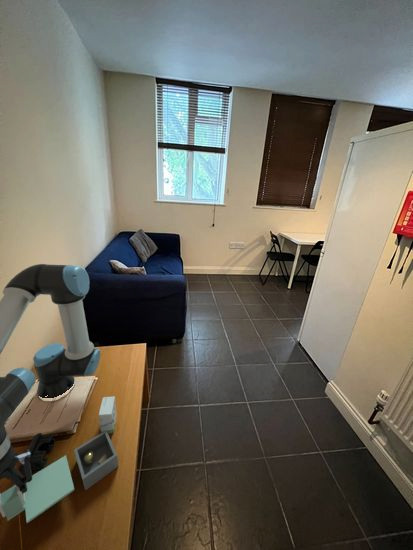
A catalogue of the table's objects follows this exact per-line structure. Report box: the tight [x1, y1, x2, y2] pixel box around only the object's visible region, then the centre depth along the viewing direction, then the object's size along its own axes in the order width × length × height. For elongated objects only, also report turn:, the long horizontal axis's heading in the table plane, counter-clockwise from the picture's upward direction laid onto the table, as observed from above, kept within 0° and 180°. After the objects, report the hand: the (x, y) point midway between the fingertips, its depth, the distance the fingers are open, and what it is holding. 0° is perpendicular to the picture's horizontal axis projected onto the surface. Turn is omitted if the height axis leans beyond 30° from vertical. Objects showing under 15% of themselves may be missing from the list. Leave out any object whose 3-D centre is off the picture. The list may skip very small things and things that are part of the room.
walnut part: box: [98, 454, 110, 465], centre depth 80 cm, size 3×3×3 cm
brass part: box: [84, 451, 94, 467], centre depth 81 cm, size 3×3×4 cm
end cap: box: [18, 432, 56, 474], centre depth 81 cm, size 10×7×7 cm
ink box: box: [98, 395, 118, 435], centre depth 92 cm, size 8×5×12 cm, turn 12°
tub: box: [73, 431, 119, 491], centre depth 80 cm, size 11×11×7 cm
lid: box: [0, 454, 75, 524], centre depth 68 cm, size 12×16×8 cm
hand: (14, 505), depth 65 cm, fingers closed on lid, 3 cm apart
